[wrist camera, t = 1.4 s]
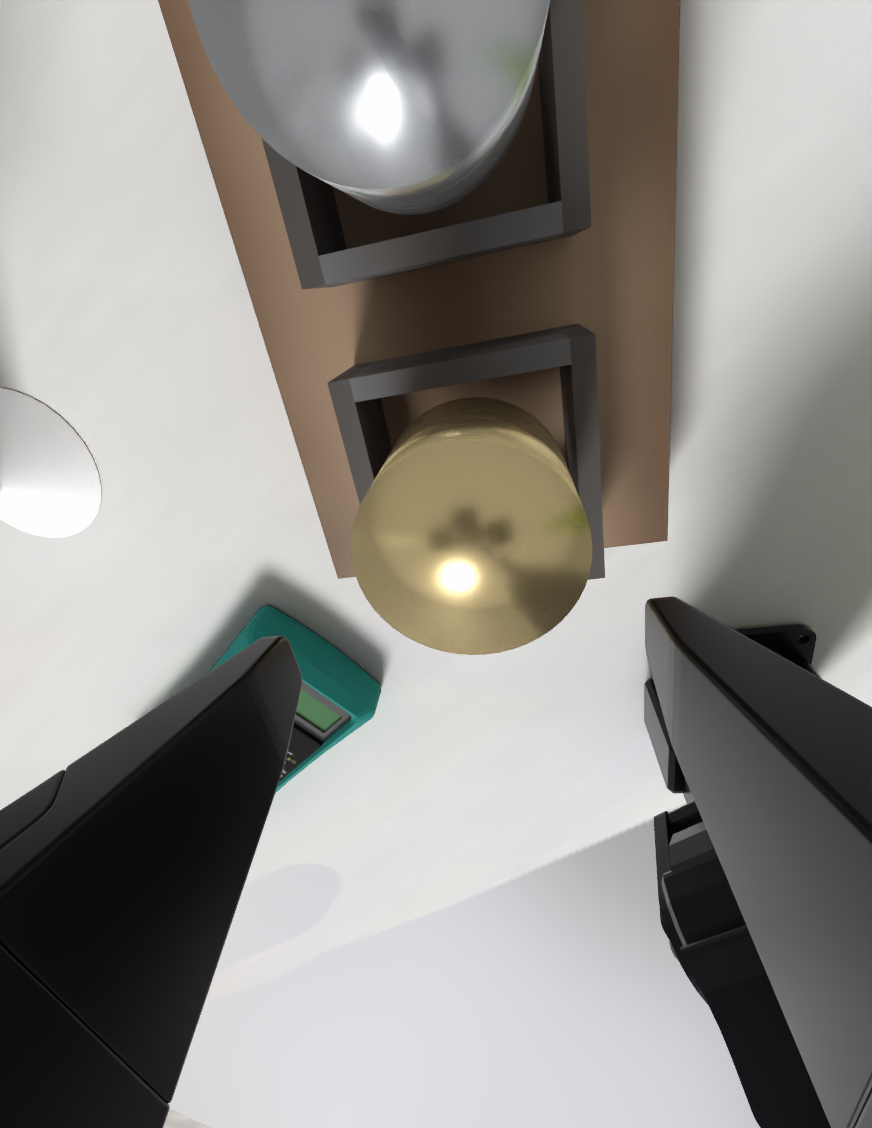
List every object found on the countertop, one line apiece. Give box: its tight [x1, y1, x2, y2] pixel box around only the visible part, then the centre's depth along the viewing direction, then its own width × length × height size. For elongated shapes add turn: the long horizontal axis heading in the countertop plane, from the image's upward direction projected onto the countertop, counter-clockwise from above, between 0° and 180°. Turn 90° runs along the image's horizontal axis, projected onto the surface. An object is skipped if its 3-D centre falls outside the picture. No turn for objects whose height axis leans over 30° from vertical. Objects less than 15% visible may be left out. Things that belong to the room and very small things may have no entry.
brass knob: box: [351, 397, 592, 655], centre depth 13 cm, size 5×5×4 cm
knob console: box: [158, 0, 680, 580], centre depth 15 cm, size 12×17×6 cm
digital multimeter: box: [208, 606, 381, 793], centre depth 28 cm, size 7×15×3 cm, turn 139°
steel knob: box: [188, 0, 550, 215], centre depth 9 cm, size 5×5×4 cm
